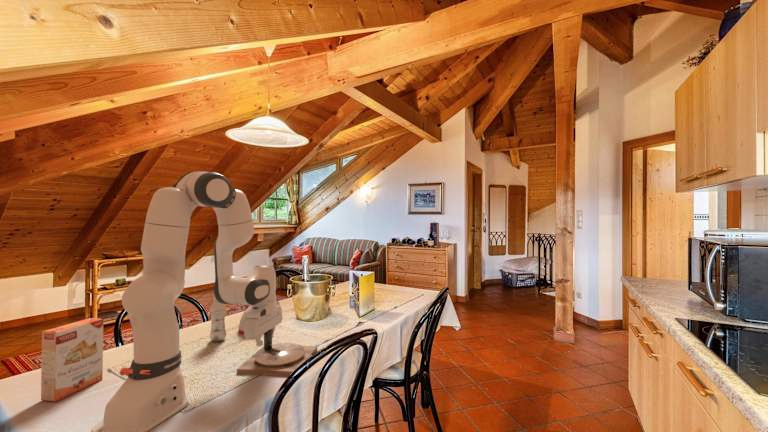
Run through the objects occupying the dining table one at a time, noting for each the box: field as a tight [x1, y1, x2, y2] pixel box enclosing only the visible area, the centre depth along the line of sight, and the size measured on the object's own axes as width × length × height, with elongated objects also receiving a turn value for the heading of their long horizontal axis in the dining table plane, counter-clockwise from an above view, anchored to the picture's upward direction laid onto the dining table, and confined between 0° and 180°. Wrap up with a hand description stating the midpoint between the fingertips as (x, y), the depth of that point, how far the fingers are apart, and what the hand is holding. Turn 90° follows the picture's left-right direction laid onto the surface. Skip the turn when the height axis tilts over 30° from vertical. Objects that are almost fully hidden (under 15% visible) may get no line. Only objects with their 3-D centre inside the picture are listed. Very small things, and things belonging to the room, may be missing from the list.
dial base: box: [236, 345, 318, 377], centre depth 124 cm, size 22×22×2 cm
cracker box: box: [40, 317, 104, 403], centre depth 104 cm, size 14×6×21 cm, turn 170°
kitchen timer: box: [238, 305, 250, 335], centre depth 159 cm, size 14×14×15 cm
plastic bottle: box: [209, 295, 227, 343], centre depth 145 cm, size 6×7×20 cm
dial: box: [254, 329, 305, 367], centre depth 124 cm, size 18×18×8 cm
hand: (265, 342), depth 127 cm, fingers open, 6 cm apart
